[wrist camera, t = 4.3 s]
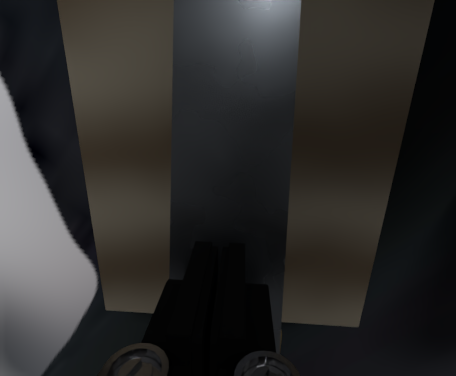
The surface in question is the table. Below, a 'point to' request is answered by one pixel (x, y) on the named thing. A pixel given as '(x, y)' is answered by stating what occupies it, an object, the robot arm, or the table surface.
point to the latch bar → (234, 134)
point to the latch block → (301, 147)
